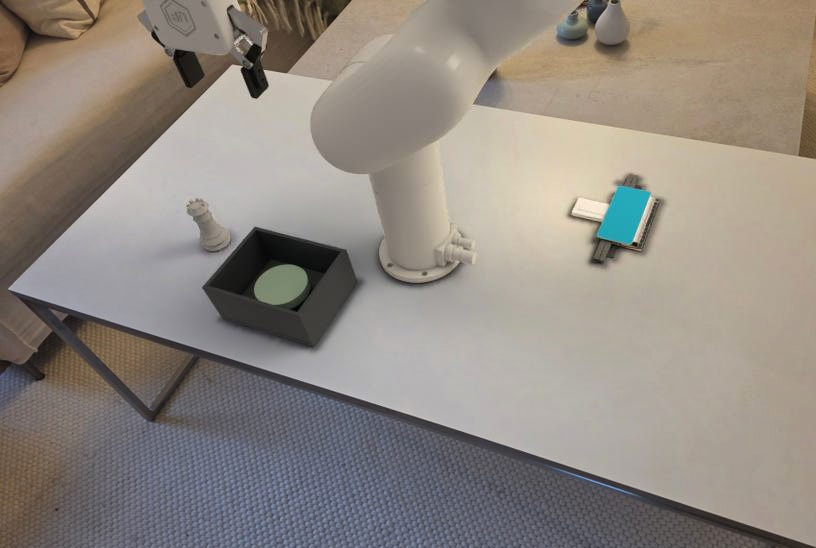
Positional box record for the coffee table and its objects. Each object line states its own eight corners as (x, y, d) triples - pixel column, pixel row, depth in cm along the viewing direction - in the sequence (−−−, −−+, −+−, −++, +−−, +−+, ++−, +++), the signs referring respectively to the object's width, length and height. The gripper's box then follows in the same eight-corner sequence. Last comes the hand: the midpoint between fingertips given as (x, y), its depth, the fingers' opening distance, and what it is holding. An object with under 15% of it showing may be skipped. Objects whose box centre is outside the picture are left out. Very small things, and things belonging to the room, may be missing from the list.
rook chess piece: (210, 257, 91) (186, 218, 84) (198, 242, 93) (174, 203, 86) (236, 243, 92) (215, 203, 86) (224, 228, 94) (203, 189, 88)
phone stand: (593, 169, 97) (594, 161, 96) (665, 184, 94) (667, 176, 92) (554, 251, 86) (554, 243, 85) (634, 272, 83) (635, 264, 82)
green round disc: (323, 285, 84) (317, 271, 82) (295, 324, 80) (288, 310, 78) (280, 273, 86) (273, 259, 84) (251, 310, 82) (243, 296, 80)
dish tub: (358, 282, 85) (346, 249, 80) (314, 347, 79) (298, 316, 73) (271, 259, 89) (254, 226, 84) (222, 319, 83) (201, 287, 77)
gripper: (73, -56, 61) (154, 94, 75) (212, -42, 57) (271, 114, 71) (121, -83, 65) (189, 63, 79) (254, -72, 61) (301, 80, 75)
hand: (228, 87), depth 75 cm, fingers open, 9 cm apart
